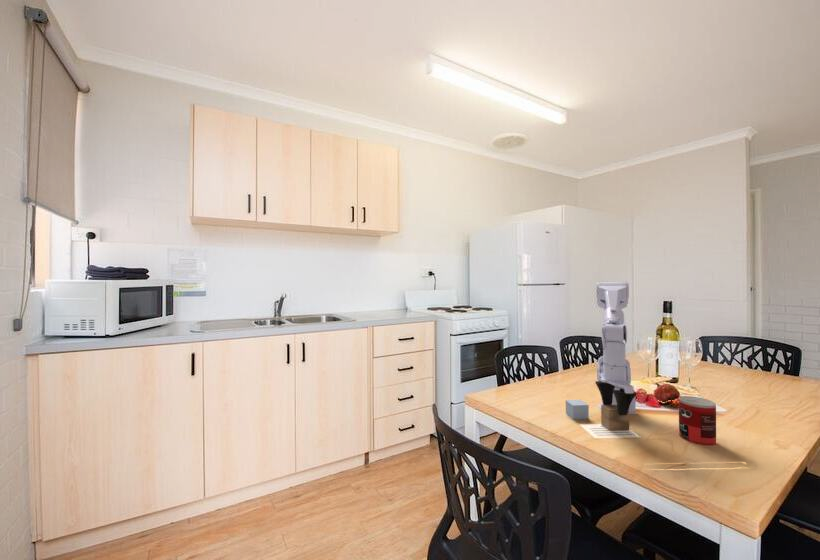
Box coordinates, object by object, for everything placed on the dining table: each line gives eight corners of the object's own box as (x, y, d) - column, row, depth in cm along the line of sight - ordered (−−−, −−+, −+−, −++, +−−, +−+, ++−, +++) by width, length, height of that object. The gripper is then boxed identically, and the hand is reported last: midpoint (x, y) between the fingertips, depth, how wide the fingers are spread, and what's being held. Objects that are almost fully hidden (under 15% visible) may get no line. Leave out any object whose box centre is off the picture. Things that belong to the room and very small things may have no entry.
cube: (580, 414, 116) (580, 399, 116) (588, 420, 111) (588, 405, 111) (565, 414, 116) (565, 399, 116) (573, 421, 111) (572, 405, 111)
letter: (621, 424, 107) (621, 423, 107) (641, 437, 98) (641, 437, 98) (579, 425, 107) (579, 424, 107) (595, 438, 98) (595, 437, 98)
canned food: (679, 431, 102) (679, 394, 102) (715, 439, 97) (715, 399, 97) (678, 441, 96) (677, 401, 96) (716, 450, 91) (716, 407, 91)
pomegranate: (683, 411, 122) (664, 387, 130) (692, 400, 118) (671, 375, 126) (662, 415, 122) (644, 390, 130) (671, 403, 118) (651, 378, 125)
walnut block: (620, 424, 107) (620, 404, 107) (629, 430, 103) (629, 409, 103) (601, 424, 107) (601, 405, 106) (608, 430, 103) (608, 410, 102)
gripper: (588, 359, 112) (588, 401, 112) (615, 370, 97) (616, 419, 97) (610, 358, 112) (610, 401, 112) (640, 370, 97) (641, 419, 97)
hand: (614, 409), depth 104 cm, fingers open, 7 cm apart
